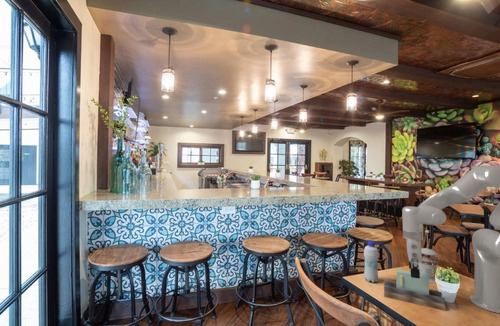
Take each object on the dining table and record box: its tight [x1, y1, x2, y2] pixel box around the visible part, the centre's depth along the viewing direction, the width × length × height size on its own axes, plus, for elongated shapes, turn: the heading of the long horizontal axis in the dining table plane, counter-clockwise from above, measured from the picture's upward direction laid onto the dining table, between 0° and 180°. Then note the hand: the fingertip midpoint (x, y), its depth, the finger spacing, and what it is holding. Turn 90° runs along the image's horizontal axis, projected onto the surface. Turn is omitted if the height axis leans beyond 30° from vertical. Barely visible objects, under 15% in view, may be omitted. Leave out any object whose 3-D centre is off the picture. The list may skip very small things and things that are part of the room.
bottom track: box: [383, 279, 447, 311], centre depth 112 cm, size 22×12×4 cm, turn 61°
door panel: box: [395, 268, 430, 295], centre depth 112 cm, size 12×4×9 cm, turn 62°
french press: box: [419, 229, 439, 284], centre depth 131 cm, size 10×12×25 cm
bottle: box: [363, 240, 379, 284], centre depth 127 cm, size 7×7×20 cm
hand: (414, 273), depth 112 cm, fingers open, 9 cm apart
